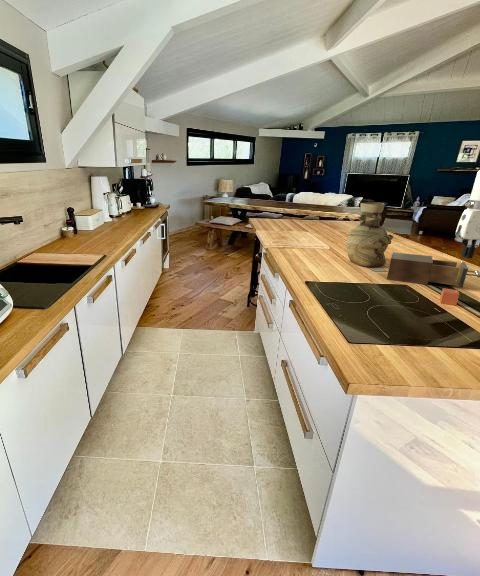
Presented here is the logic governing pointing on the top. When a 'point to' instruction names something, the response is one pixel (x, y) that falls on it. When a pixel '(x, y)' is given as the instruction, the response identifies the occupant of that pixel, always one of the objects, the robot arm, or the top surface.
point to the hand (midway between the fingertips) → (466, 257)
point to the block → (449, 296)
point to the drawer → (450, 273)
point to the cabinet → (410, 268)
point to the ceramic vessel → (368, 238)
